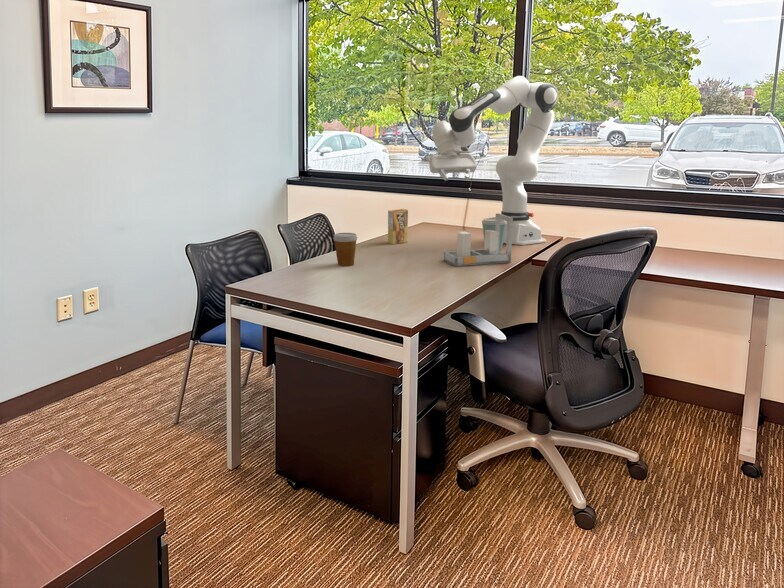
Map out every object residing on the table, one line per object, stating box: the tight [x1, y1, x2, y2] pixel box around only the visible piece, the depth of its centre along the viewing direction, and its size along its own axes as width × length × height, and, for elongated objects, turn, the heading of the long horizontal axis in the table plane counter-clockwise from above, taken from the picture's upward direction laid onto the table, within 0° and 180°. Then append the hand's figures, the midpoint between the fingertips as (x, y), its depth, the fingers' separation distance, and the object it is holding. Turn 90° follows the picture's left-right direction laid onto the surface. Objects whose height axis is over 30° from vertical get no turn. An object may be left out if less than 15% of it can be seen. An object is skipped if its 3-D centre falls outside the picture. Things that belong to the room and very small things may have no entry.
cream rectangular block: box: [456, 231, 472, 257], centre depth 254 cm, size 4×5×11 cm
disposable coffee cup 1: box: [332, 232, 358, 267], centre depth 250 cm, size 10×10×12 cm
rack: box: [443, 213, 513, 267], centre depth 255 cm, size 24×12×18 cm, turn 107°
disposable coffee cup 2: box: [481, 216, 507, 254], centre depth 272 cm, size 11×11×15 cm
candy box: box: [387, 208, 409, 245], centre depth 294 cm, size 9×4×15 cm, turn 129°
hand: (457, 179), depth 264 cm, fingers open, 8 cm apart
